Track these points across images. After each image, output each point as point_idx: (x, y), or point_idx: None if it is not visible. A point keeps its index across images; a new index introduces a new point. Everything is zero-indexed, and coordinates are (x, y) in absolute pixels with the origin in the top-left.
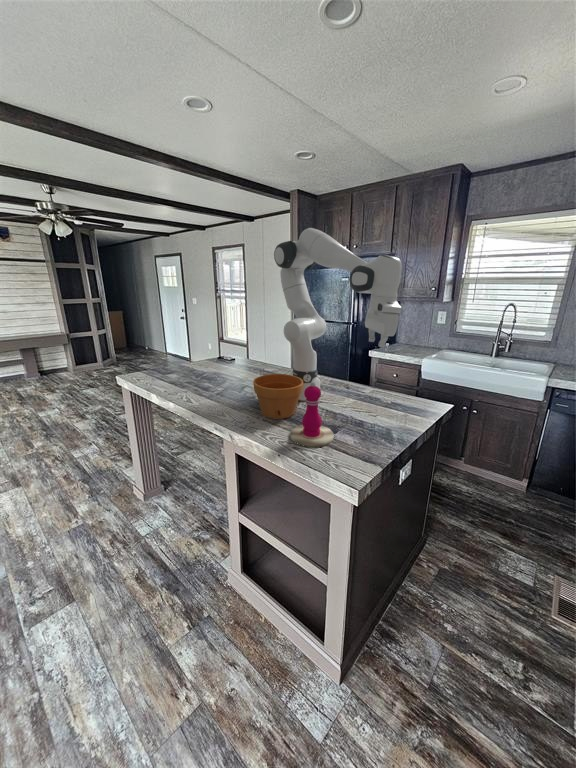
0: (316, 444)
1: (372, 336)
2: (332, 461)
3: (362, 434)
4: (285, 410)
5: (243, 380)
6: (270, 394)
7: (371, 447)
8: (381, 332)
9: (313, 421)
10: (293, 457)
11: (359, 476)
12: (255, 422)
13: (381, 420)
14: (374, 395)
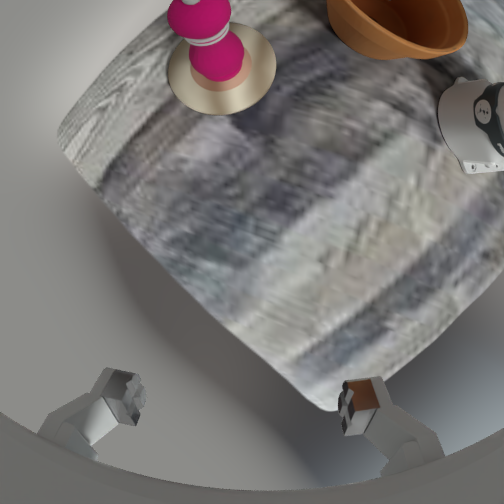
0: (168, 71)
1: (371, 426)
2: (116, 102)
3: (219, 190)
4: (330, 16)
5: None
6: None
7: (157, 192)
8: (7, 432)
9: (189, 50)
10: (141, 35)
11: (74, 145)
12: None
13: (293, 267)
14: (433, 304)
